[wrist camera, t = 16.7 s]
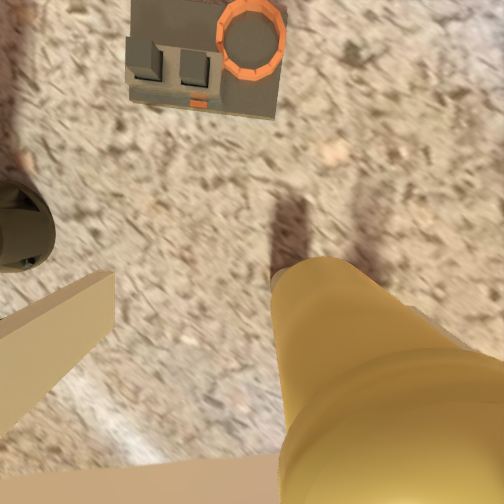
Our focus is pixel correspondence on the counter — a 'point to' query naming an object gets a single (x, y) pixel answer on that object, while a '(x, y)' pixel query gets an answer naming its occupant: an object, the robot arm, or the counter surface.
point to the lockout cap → (379, 398)
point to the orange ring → (260, 3)
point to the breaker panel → (204, 39)
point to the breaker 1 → (144, 59)
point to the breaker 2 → (194, 68)
